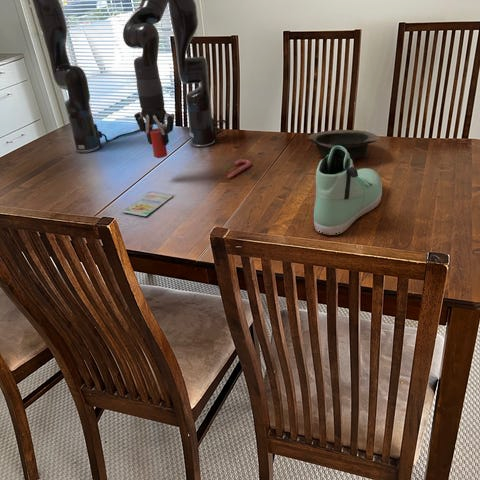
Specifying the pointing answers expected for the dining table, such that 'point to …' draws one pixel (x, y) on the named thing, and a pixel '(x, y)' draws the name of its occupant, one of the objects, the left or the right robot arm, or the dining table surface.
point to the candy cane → (240, 167)
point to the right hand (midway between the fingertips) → (158, 144)
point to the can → (158, 143)
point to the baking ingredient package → (147, 204)
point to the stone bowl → (343, 141)
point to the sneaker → (343, 192)
